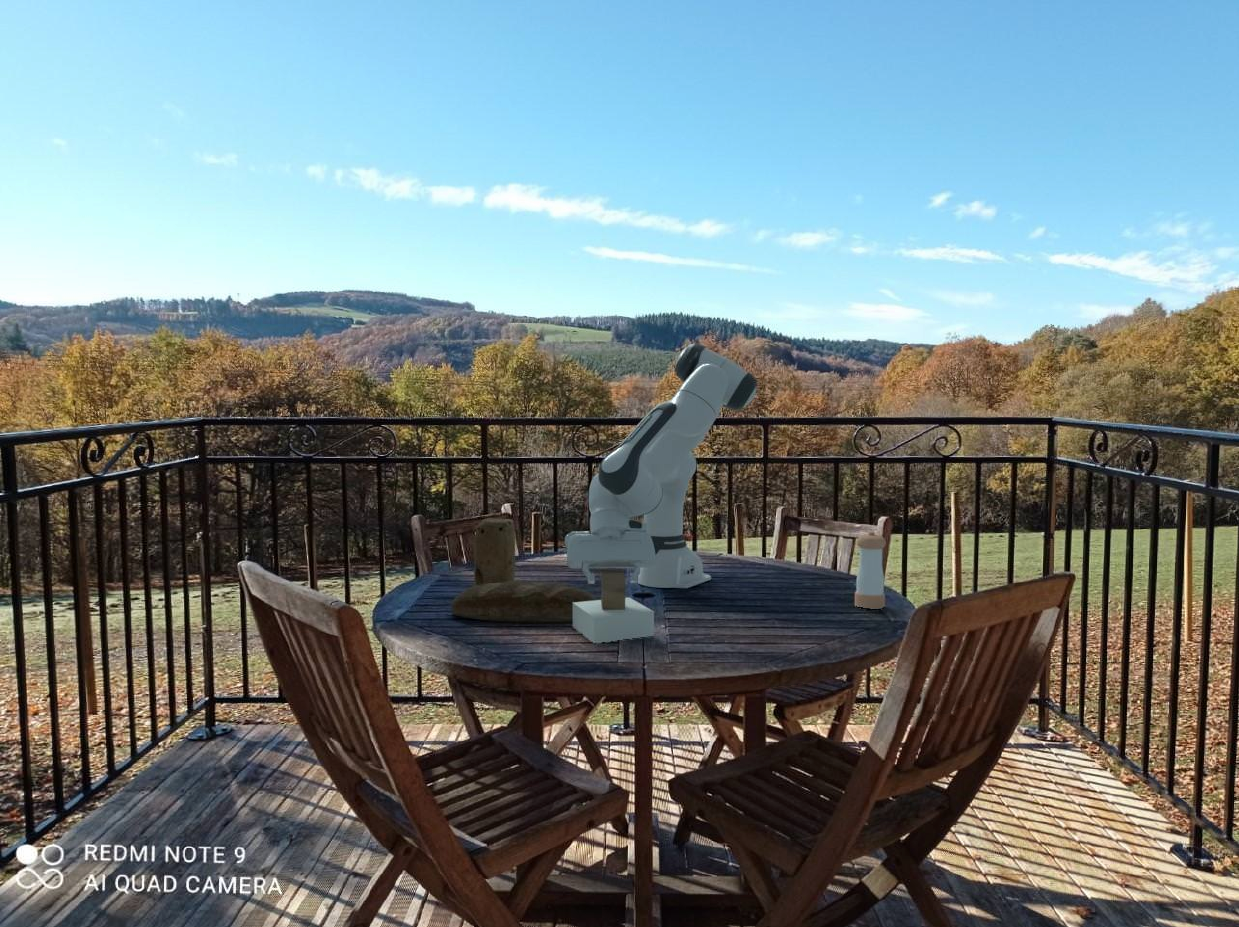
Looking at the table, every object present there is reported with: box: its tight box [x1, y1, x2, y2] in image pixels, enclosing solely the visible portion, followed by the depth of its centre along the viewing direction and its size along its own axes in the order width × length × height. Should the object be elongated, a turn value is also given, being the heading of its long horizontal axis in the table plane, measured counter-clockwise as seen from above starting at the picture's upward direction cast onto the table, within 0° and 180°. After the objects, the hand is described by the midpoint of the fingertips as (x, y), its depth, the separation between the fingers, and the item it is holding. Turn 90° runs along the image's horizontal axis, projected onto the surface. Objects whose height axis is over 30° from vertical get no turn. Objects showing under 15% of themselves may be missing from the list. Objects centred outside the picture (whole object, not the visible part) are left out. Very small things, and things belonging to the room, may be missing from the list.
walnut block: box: [600, 568, 626, 610], centre depth 175 cm, size 5×5×8 cm
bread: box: [450, 580, 599, 624], centre depth 190 cm, size 16×36×8 cm, turn 86°
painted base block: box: [572, 597, 655, 644], centre depth 176 cm, size 14×14×6 cm
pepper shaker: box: [854, 530, 887, 609], centre depth 198 cm, size 7×7×19 cm
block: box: [473, 517, 516, 586], centre depth 212 cm, size 11×8×20 cm
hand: (612, 582), depth 175 cm, fingers open, 8 cm apart
